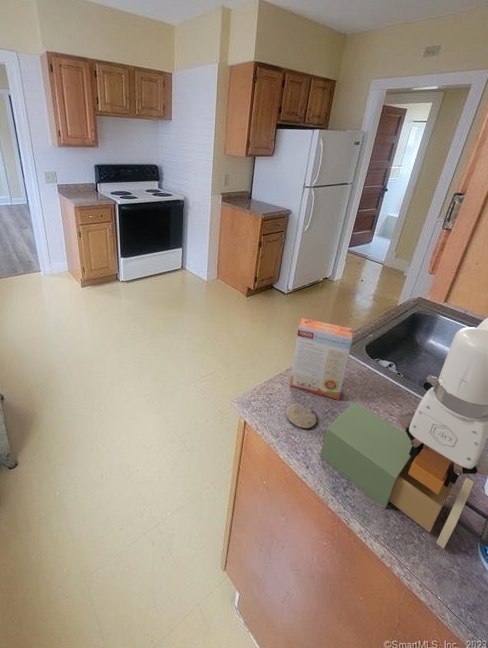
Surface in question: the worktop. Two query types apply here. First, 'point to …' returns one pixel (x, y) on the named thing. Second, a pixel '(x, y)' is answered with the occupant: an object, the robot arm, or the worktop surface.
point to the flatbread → (301, 415)
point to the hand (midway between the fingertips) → (430, 469)
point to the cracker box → (321, 357)
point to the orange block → (430, 468)
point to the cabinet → (366, 451)
